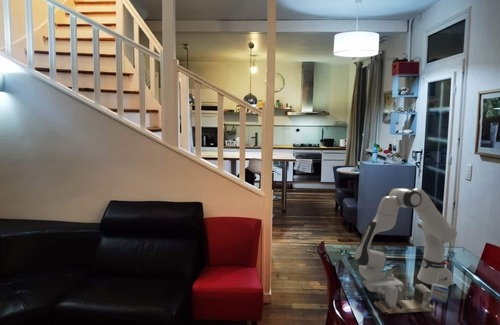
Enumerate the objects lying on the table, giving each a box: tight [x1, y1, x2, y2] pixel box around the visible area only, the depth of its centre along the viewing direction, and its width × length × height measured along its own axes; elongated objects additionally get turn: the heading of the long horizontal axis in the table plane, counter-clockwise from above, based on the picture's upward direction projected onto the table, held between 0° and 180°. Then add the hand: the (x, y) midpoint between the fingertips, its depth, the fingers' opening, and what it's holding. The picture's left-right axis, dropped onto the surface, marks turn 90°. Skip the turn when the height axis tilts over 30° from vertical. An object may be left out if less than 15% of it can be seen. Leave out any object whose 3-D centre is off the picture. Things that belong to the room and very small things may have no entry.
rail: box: [373, 283, 435, 314], centre depth 191 cm, size 30×8×11 cm, turn 103°
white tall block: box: [384, 285, 399, 307], centre depth 189 cm, size 4×4×10 cm
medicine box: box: [430, 283, 450, 304], centre depth 203 cm, size 8×4×9 cm, turn 69°
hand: (393, 293), depth 188 cm, fingers open, 8 cm apart
